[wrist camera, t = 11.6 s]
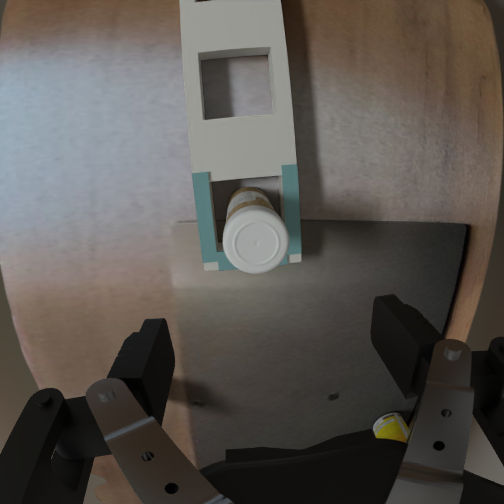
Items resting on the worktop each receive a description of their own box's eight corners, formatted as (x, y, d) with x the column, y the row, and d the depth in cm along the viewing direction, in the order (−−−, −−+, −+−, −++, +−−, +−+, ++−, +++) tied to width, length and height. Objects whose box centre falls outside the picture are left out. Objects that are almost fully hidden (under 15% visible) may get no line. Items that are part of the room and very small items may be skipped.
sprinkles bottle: (276, 216, 35) (300, 259, 22) (237, 234, 35) (240, 286, 23) (258, 178, 33) (274, 198, 21) (219, 196, 34) (210, 228, 21)
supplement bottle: (366, 431, 48) (384, 474, 38) (383, 409, 46) (404, 453, 36) (389, 432, 48) (408, 472, 39) (406, 411, 47) (428, 452, 37)
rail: (268, -50, 24) (271, -64, 21) (296, 252, 36) (301, 262, 33) (182, -43, 24) (178, -57, 21) (206, 260, 36) (204, 272, 33)
